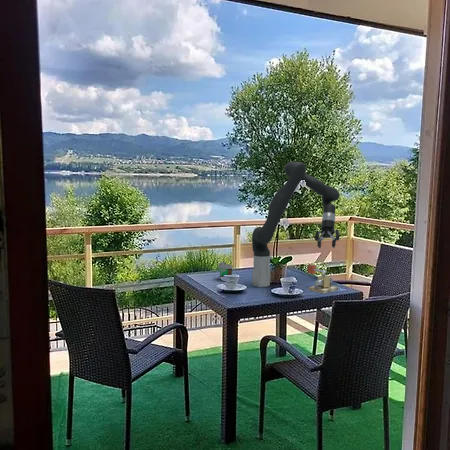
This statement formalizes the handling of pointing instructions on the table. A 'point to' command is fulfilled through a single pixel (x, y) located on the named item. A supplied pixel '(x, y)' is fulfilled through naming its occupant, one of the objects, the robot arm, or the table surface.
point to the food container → (225, 269)
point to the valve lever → (313, 270)
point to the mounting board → (324, 289)
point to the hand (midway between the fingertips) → (326, 247)
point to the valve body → (323, 282)
